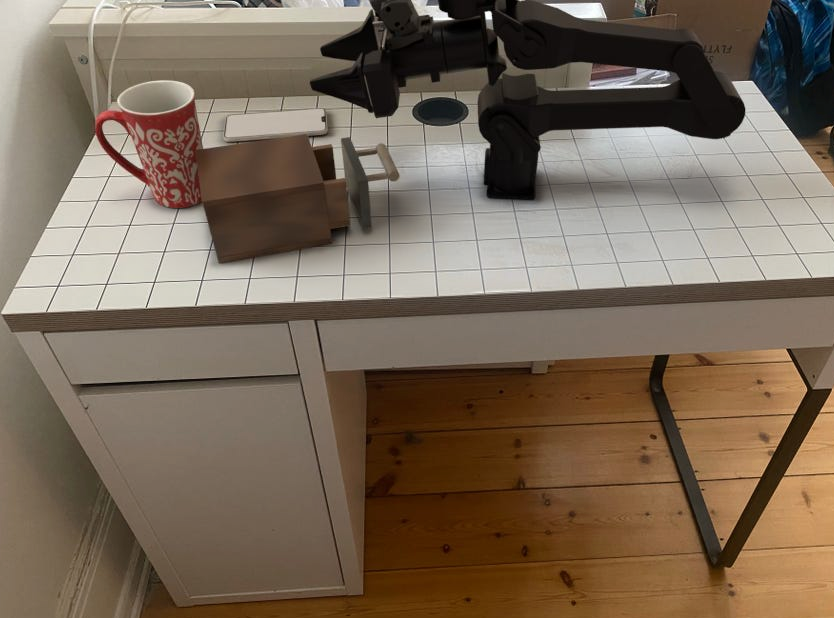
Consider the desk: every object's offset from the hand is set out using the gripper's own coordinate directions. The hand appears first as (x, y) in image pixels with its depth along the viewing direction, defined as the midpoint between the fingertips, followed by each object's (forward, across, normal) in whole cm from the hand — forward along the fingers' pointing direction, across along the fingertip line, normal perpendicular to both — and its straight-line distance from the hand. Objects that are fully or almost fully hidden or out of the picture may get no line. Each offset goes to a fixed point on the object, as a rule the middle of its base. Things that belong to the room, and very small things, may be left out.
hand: (316, 67), depth 90 cm
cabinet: (+9, +10, +15) cm, 20 cm away
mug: (+23, +3, +13) cm, 27 cm away
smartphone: (+12, -15, +14) cm, 24 cm away
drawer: (+1, +7, +15) cm, 17 cm away
